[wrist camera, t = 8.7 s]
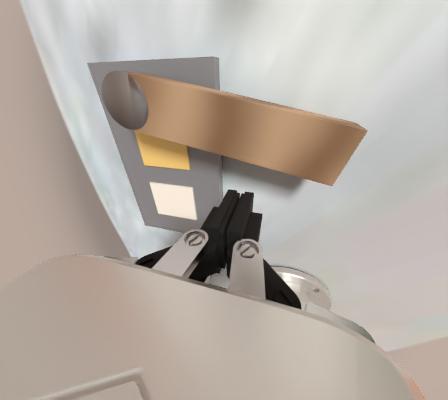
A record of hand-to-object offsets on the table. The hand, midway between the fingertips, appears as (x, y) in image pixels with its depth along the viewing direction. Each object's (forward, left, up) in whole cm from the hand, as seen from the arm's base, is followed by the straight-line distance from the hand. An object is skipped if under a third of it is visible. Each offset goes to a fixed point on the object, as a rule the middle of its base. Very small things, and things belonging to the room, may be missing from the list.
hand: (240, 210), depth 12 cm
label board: (+3, +8, -7) cm, 11 cm away
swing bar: (+5, 0, -4) cm, 7 cm away
